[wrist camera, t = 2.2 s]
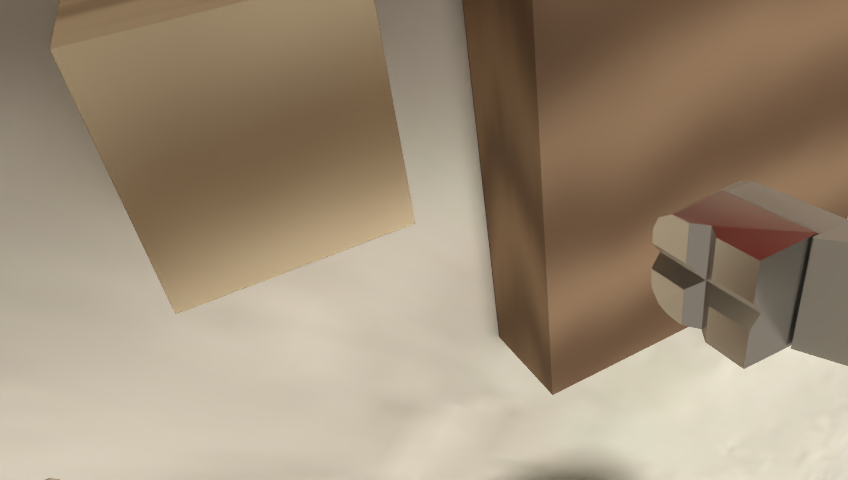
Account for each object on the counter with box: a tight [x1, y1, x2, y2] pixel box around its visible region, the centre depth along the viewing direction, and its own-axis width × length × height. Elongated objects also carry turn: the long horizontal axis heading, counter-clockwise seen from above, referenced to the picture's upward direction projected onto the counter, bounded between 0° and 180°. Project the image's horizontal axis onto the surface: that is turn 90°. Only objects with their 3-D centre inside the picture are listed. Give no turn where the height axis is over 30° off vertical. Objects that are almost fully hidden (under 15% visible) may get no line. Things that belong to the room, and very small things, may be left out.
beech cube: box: [50, 0, 415, 314], centre depth 16 cm, size 6×6×6 cm
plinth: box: [463, 0, 848, 395], centre depth 24 cm, size 16×16×4 cm
